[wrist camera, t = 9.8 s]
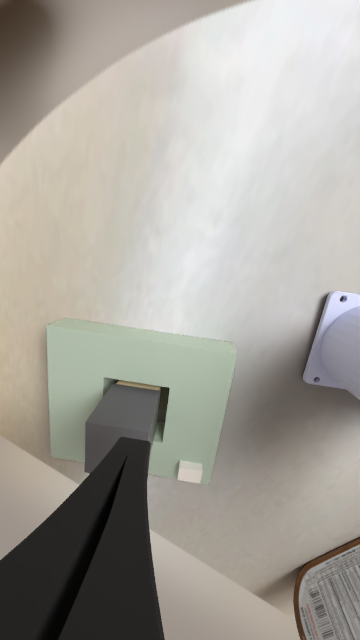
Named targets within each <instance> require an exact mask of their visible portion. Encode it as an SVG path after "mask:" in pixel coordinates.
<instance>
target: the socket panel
mask: <svg viewBox="0 0 360 640" xmlns="http://www.w3.org/2000/svg"><path fill="white" fill-rule="evenodd" d="M46 333H47V363H48V393H49V423H50V453H51V457H53V458H59V459H65V460H70V461H76V462H82V463H85V422H86V421H87V419H88V418H89V416H90V415H91V413H92V412H93V411H94V409H95V408H96V406H97V405H98V404H99V402H100V401H101V399H102V398H103V396H104V395H105V394H106V392H107V391H108V389H109V388H110V387H111V385H112V384H113V383H114V379H118V380H124V381H130V382H137V383H143V384H149V385H156V386H162V387H168V388H170V390H169V398H168V405H167V413H166V420H165V422H160V421H157V426H156V433H155V437H154V441H153V445H152V449H151V453H150V458H149V469H148V474H150V475H156V476H162V477H168V478H173V479H177V480H181V481H187V482H192V483H198V484H200V483H202V484H208V485H209V484H210V480H211V475H212V470H213V466H214V461H215V457H216V452H217V447H218V443H219V438H220V433H221V429H222V424H223V420H224V415H225V410H226V406H227V401H228V396H229V392H230V387H231V383H232V378H233V373H234V369H235V364H236V360H237V355H238V354H237V352H236V349H235V347H234V345H233V343H232V342H226V341H219V340H212V339H205V338H199V337H192V336H185V335H178V334H172V333H165V332H158V331H151V330H145V329H138V328H131V327H124V326H118V325H111V324H104V323H97V322H90V321H84V320H77V319H70V318H63V319H61V320H58V321H56V322H53V323H51V324H48V325H46Z"/></svg>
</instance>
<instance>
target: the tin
mask: <svg viewBox="0 0 360 640" xmlns="http://www.w3.org/2000/svg"><path fill="white" fill-rule="evenodd" d="M293 602H294V612H295V618H296V624H297V628H298V632H299V636H300V639H301V640H360V538H359V539H357V540H355V541H353V542H351V543H348V544H346V545H344V546H342V547H340V548H338V549H336V550H334V551H332V552H330V553H327V554H325V555H323V556H321V557H319V558H316V559H314V560H312V561H310V562H309V563H307V564H306V565H305V566H304V567H303V568H302V570H301V571H300V573H299V575H298V577H297V580H296V583H295V588H294V599H293Z"/></svg>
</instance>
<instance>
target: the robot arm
mask: <svg viewBox="0 0 360 640" xmlns="http://www.w3.org/2000/svg"><path fill="white" fill-rule="evenodd" d="M342 296H343V297H344V299H343V300H342V301H340V298H341V297H342ZM315 377H317V379H316V380H314V378H315ZM303 380H304V381H305V382H306V383H308V384H314V385H320V386H327V387H333V388H340V389H346V390H348V391H349V392H350V393H351V394H353V395H354V396H355V397H356V398H357V399H359V400H360V294H353V293H346V292H339V291H333V292H331V293H330V294H329V295H328V297H327V300H326V303H325V306H324V310H323V313H322V316H321V319H320V323H319V326H318V329H317V332H316V335H315V339H314V342H313V345H312V348H311V352H310V355H309V358H308V361H307V364H306V368H305V371H304V374H303ZM150 448H151V443H150V442H149V441H146V440H139V439H133V438H127V437H120V438H119V439H118V440H117V442H116V443H115V444H114V446H113V447H112V448H111V450H110V451H109V452H108V453H107V455H106V456H105V457H104V458H103V459H102V461H101V462H100V463H99V464H98V465H97V467H96V468H95V469H94V470H93V471H92V472H91V473H90V475H89V476H88V477H87V478H86V479H85V480H84V481H83V482H82V483H81V485H80V486H79V487H78V488H77V489H76V490H75V491H74V492H73V493H72V494H71V495H70V496H69V497H68V498H67V499H66V500H65V501H64V502H63V504H61V505H60V506H59V507H58V508H57V509H56V510H55V511H54V512H53V513H52V514H51V515H50V516H49V517H48V518H47V519H46V520H45V521H44V522H43V523H42V524H41V525H40V526H39V527H38V528H36V529H35V530H34V531H33V532H32V533H31V534H30V535H29V536H28V537H27V538H26V539H24V540H23V541H22V542H21V543H20V544H19V545H17V546H16V547H15V548H14V549H13V550H12V551H11V552H9V553H8V554H7V555H6V556H5V557H4V558H3V559H1V560H0V640H165V639H164V633H163V627H162V622H161V615H160V608H159V603H158V597H157V591H156V583H155V576H154V568H153V561H152V553H151V543H150V533H149V521H148V506H147V477H148V469H149V458H150Z"/></svg>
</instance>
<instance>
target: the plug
mask: <svg viewBox="0 0 360 640" xmlns="http://www.w3.org/2000/svg"><path fill="white" fill-rule="evenodd" d="M160 395H161V386H156V385H149V384H143V383H137V382H130V381H124V380H119V381H118V382H117V384H114V383H113V384H112V385H111V387H110V388H109V389H108V391H107V392H106V394H105V395H104V396H103V398H102V399H101V401H100V402H99V404H98V405H97V406H96V408H95V409H94V411H93V412H92V413H91V415H90V416H89V418H88V419H87V421H86V422H85V472H87V473H91V472H92V471H93V470H94V469H95V468H96V467H97V465H98V464H99V463H100V462H101V461H102V459H103V458H104V457H105V456H106V455H107V453H108V452H109V451H110V450H111V448H112V447H113V446H114V444H115V443H116V442H117V440H118V439H119V438H120V437H127V438H133V439H139V440H146V441H149V442H150V443H151V448H150V453H151V449H152V445H153V441H154V437H155V433H156V426H157V417H158V411H159V403H160Z"/></svg>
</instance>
